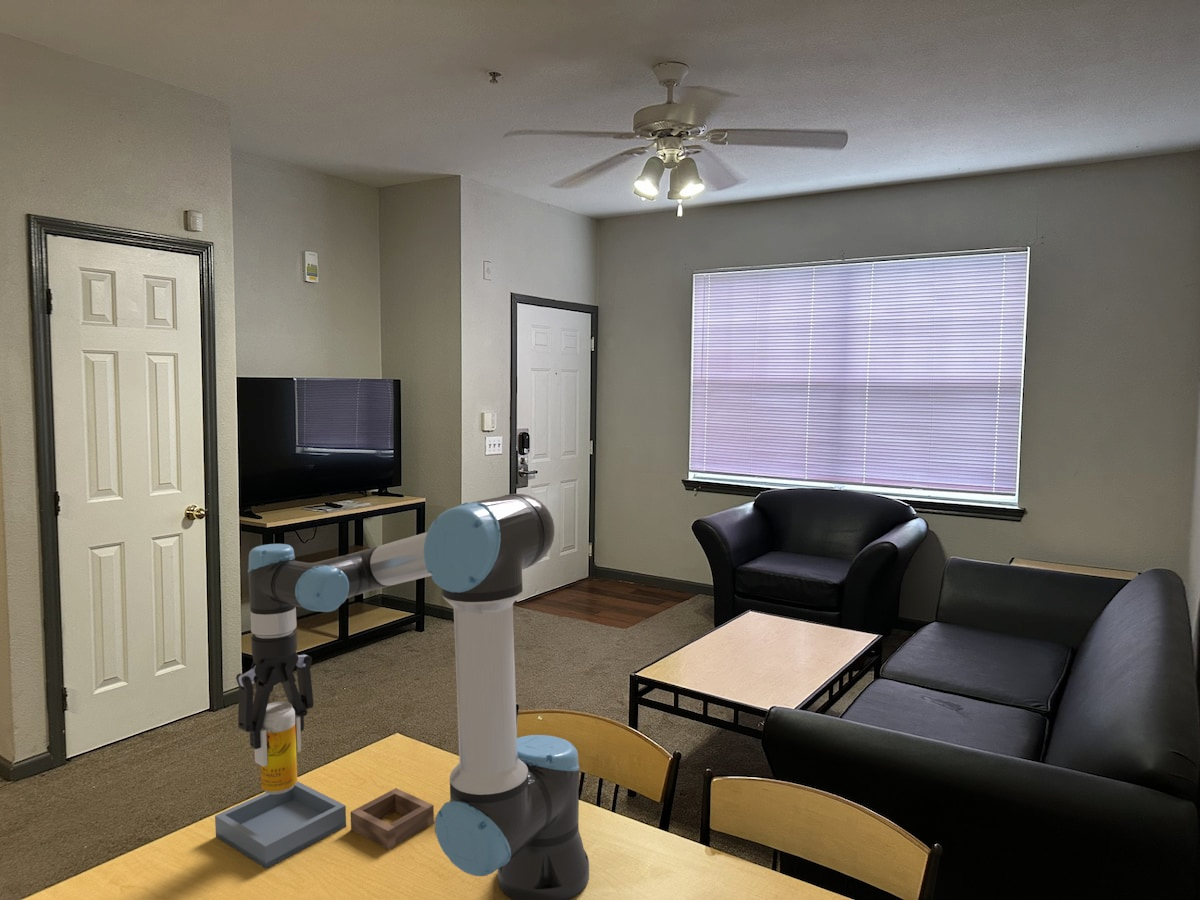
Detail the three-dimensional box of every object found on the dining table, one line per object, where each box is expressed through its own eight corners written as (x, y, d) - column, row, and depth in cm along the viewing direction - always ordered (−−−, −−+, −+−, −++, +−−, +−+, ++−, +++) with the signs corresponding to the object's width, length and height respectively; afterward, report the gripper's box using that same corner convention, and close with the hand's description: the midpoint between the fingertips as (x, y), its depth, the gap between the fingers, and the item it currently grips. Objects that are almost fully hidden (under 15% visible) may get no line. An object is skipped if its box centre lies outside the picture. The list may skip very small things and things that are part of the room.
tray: (346, 826, 150) (345, 805, 150) (266, 868, 137) (265, 846, 137) (295, 799, 159) (294, 779, 159) (215, 836, 147) (214, 815, 146)
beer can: (253, 793, 146) (250, 712, 144) (276, 776, 151) (273, 699, 150) (282, 798, 144) (279, 716, 142) (304, 781, 150) (301, 703, 148)
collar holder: (433, 823, 151) (433, 805, 151) (388, 849, 143) (388, 830, 142) (396, 805, 157) (396, 788, 157) (351, 829, 149) (350, 811, 148)
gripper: (308, 615, 155) (312, 732, 157) (210, 641, 139) (216, 771, 142) (332, 622, 150) (336, 742, 152) (234, 651, 135) (240, 784, 137)
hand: (278, 756), depth 147 cm, fingers closed on beer can, 6 cm apart
